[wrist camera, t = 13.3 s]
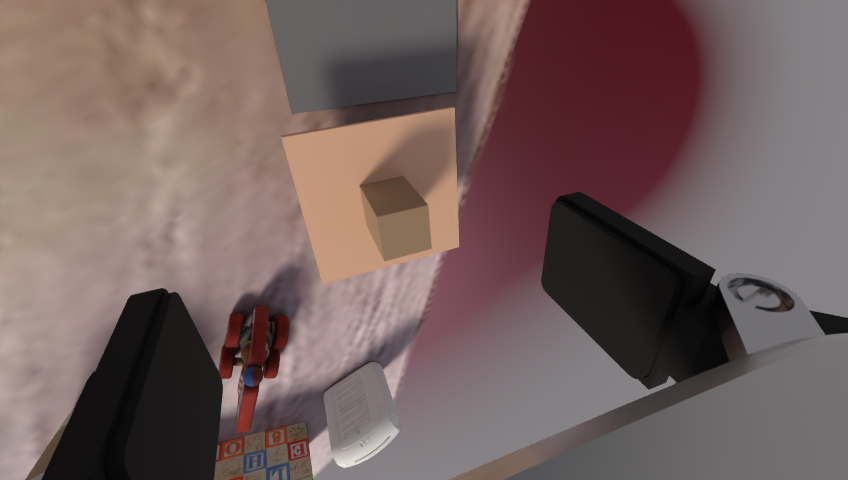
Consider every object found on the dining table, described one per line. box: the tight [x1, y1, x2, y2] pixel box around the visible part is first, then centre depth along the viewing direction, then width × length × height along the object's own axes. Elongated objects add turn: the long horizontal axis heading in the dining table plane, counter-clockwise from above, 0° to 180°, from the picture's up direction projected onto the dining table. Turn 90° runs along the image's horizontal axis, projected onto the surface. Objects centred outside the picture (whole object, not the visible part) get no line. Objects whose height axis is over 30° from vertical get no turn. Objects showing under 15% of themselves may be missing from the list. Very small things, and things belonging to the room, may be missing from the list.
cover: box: [281, 106, 459, 284], centre depth 36 cm, size 16×16×8 cm
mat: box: [266, 0, 457, 114], centre depth 36 cm, size 18×18×1 cm
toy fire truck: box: [218, 306, 289, 433], centre depth 46 cm, size 7×12×10 cm, turn 158°
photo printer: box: [323, 362, 401, 468], centre depth 56 cm, size 10×4×12 cm, turn 118°
